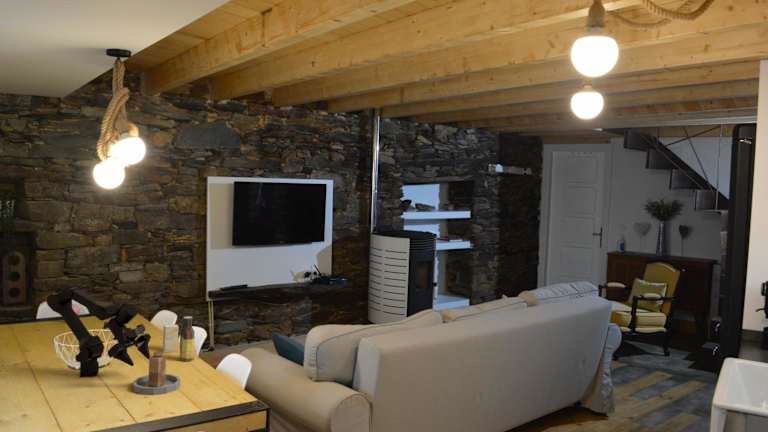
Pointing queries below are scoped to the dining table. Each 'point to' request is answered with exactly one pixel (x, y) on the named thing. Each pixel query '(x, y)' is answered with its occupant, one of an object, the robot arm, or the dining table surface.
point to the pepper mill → (157, 370)
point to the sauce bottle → (187, 340)
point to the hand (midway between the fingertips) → (141, 362)
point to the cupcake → (76, 309)
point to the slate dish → (143, 387)
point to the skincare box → (170, 338)
